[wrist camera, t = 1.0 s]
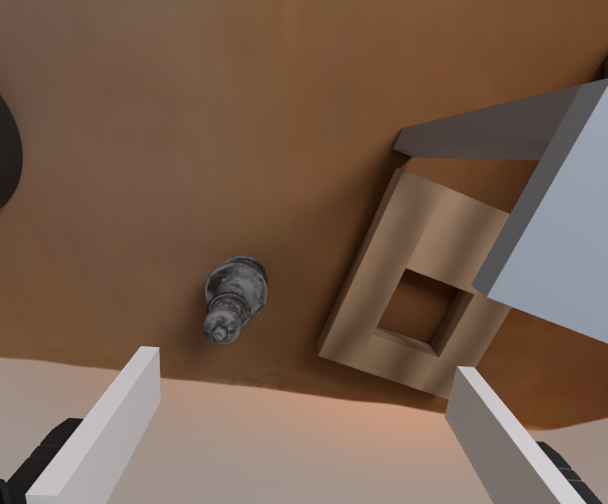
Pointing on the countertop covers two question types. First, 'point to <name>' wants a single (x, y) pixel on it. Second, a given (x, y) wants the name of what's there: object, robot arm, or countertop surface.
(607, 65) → the beer bottle
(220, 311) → the grey chess piece
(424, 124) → the grey arch frame
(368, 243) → the socket
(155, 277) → the countertop surface
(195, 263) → the countertop surface
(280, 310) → the countertop surface
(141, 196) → the countertop surface
